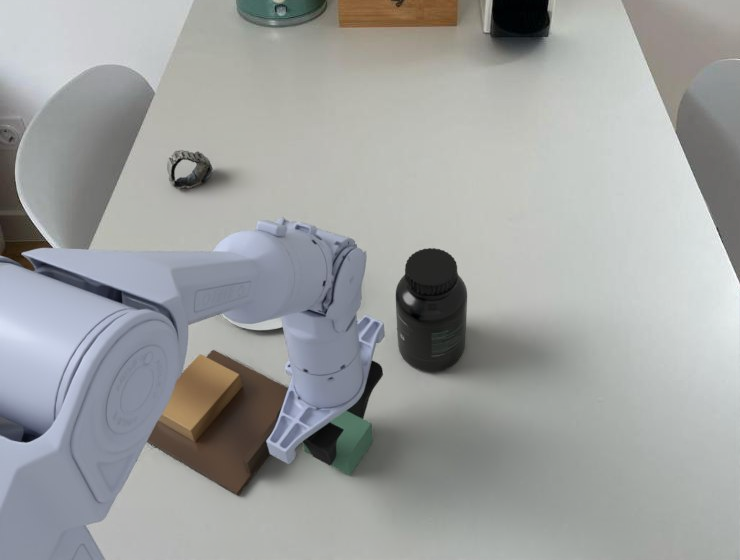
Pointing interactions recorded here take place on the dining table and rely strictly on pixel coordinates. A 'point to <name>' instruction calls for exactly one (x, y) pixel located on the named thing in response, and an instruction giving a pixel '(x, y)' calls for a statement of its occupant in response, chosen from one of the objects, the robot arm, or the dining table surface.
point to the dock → (220, 420)
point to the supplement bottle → (431, 311)
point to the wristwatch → (197, 175)
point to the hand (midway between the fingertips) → (337, 437)
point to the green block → (350, 441)
